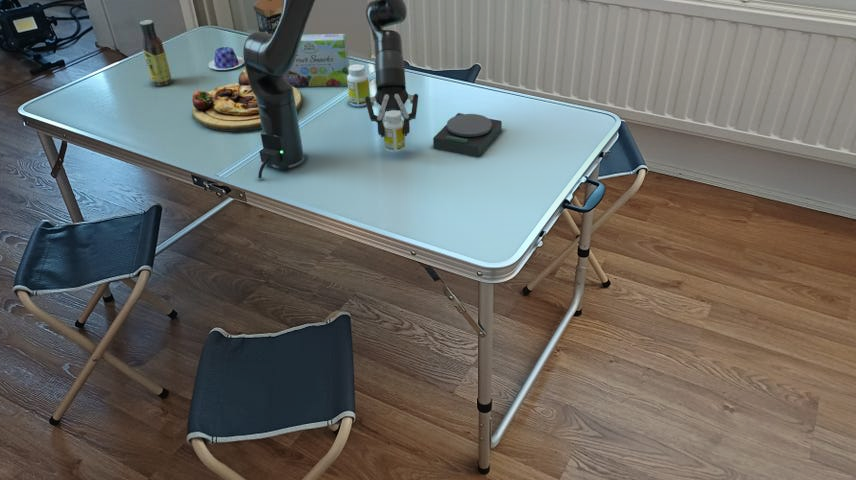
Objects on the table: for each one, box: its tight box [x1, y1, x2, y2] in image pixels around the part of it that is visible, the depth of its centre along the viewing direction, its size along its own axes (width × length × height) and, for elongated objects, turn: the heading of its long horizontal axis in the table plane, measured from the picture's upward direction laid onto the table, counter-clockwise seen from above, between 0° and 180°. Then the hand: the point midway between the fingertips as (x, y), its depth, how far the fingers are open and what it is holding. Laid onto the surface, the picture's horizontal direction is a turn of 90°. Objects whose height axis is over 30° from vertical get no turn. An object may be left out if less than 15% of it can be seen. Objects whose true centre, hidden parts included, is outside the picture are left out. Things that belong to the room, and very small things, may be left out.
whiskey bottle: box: [252, 0, 282, 35], centre depth 233 cm, size 10×10×32 cm
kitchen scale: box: [432, 112, 503, 158], centre depth 194 cm, size 16×13×4 cm
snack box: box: [283, 33, 350, 88], centre depth 224 cm, size 21×6×15 cm, turn 90°
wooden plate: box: [191, 69, 303, 132], centre depth 213 cm, size 32×32×8 cm
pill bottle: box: [347, 63, 371, 108], centre depth 213 cm, size 6×6×11 cm
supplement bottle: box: [383, 110, 406, 153], centre depth 186 cm, size 5×5×10 cm
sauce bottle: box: [139, 19, 172, 87], centre depth 227 cm, size 7×6×20 cm
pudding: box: [208, 46, 245, 71], centre depth 242 cm, size 12×12×5 cm
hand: (394, 135), depth 185 cm, fingers closed on supplement bottle, 5 cm apart
